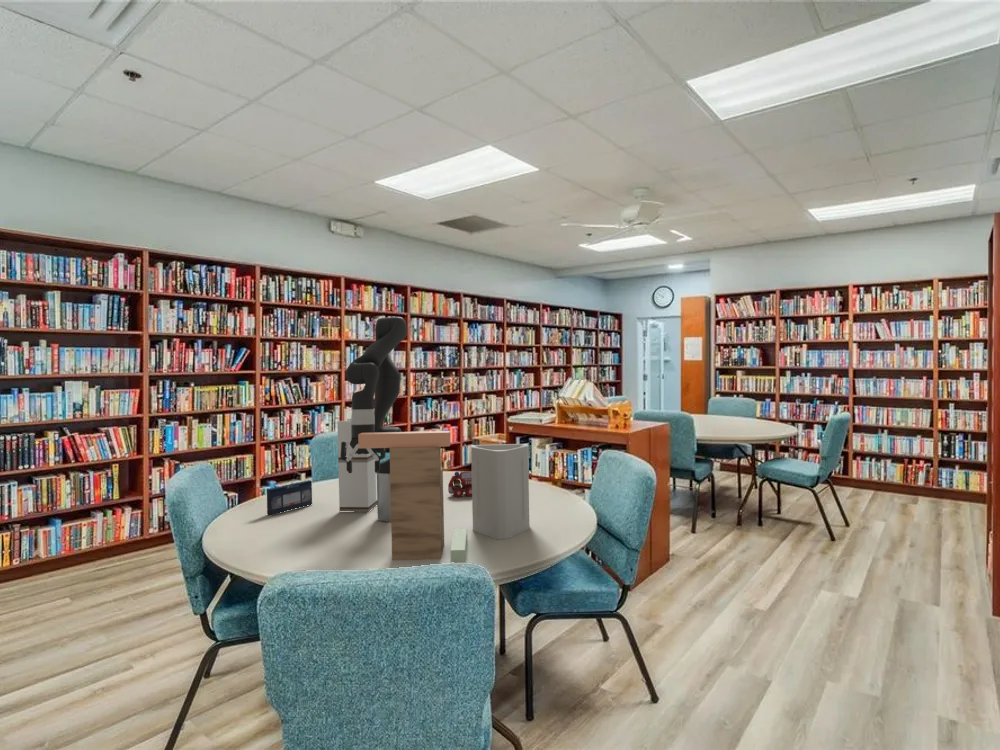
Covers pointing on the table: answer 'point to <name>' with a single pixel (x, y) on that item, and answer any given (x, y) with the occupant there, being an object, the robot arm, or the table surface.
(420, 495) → the walnut stand
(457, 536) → the sage peg
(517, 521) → the grey triangular vase
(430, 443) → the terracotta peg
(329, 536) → the table surface
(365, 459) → the banded white pillar
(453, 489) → the toy fire truck
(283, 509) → the vhs cassette tape
